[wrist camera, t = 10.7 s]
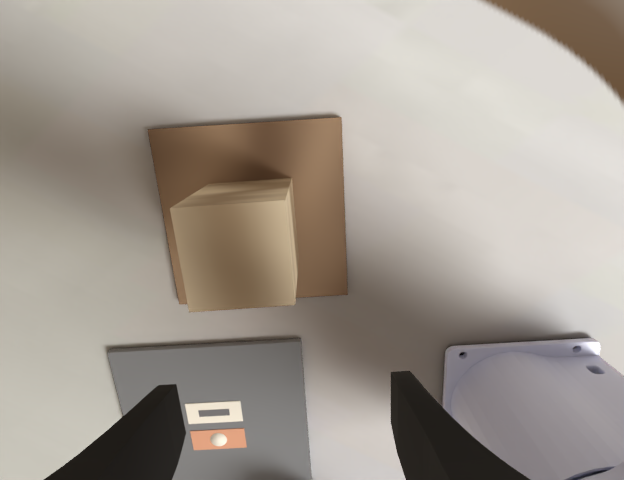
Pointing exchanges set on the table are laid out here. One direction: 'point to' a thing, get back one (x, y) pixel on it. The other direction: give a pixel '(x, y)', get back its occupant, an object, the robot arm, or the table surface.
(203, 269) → the birch block
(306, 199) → the walnut pad
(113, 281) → the table surface
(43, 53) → the table surface
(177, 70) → the table surface
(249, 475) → the mat
